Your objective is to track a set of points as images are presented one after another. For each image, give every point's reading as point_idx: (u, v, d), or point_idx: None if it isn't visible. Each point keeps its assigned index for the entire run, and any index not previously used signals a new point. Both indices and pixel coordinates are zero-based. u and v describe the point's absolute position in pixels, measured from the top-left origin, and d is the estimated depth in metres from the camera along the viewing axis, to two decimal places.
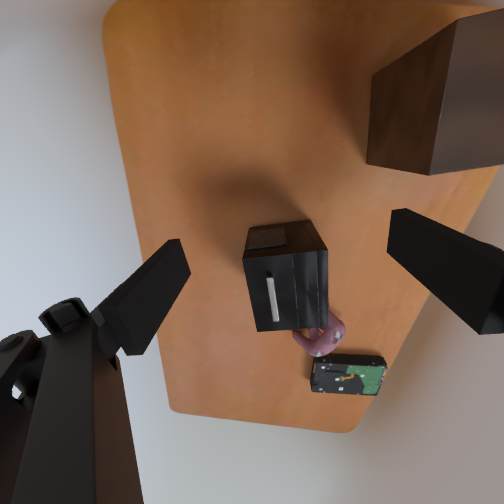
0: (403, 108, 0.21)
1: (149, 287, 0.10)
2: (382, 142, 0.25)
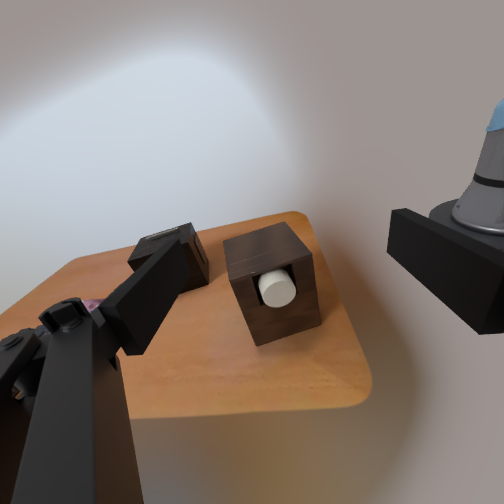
0: None
1: (149, 287, 0.10)
2: None
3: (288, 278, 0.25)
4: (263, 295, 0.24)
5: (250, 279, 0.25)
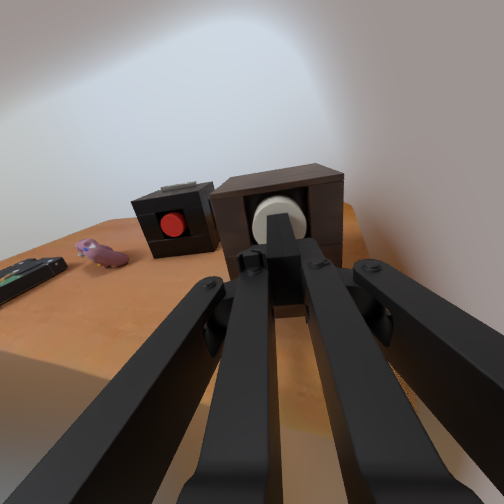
0: None
1: None
2: None
3: (297, 206, 0.16)
4: (253, 223, 0.16)
5: (240, 200, 0.16)
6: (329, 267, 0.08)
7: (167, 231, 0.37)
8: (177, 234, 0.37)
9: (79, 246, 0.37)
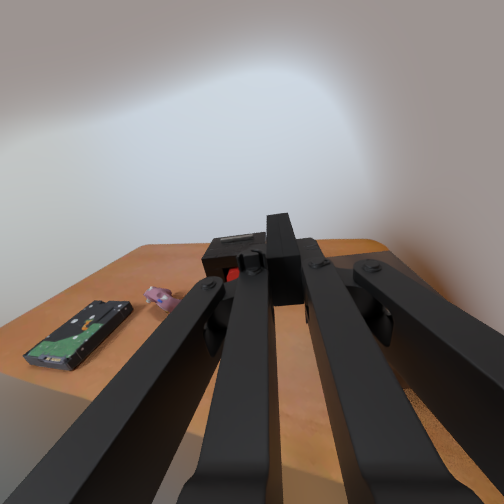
0: None
1: None
2: None
3: None
4: None
5: None
6: (329, 267, 0.08)
7: None
8: None
9: (152, 297, 0.41)
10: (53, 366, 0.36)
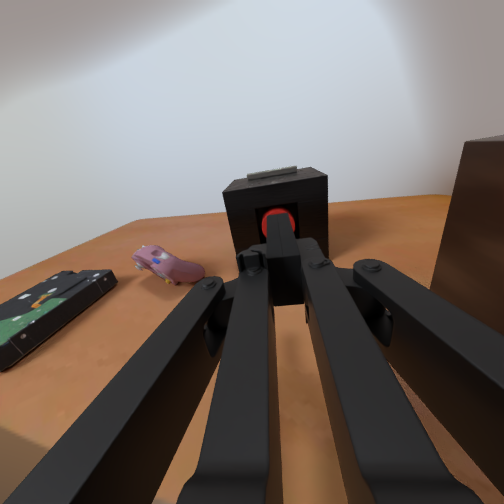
0: None
1: None
2: None
3: None
4: None
5: None
6: (329, 267, 0.08)
7: None
8: None
9: (145, 256, 0.26)
10: None
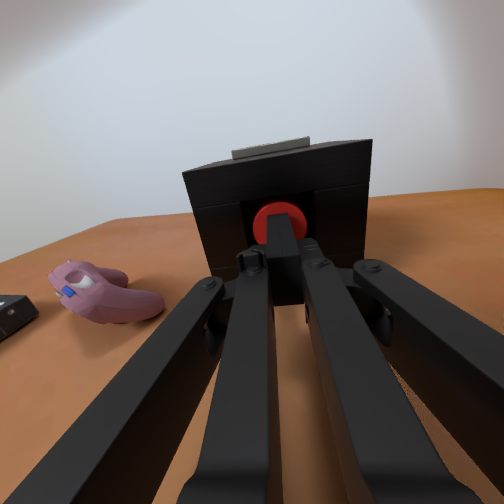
0: None
1: None
2: None
3: None
4: None
5: None
6: (329, 267, 0.08)
7: None
8: None
9: (54, 282, 0.16)
10: None
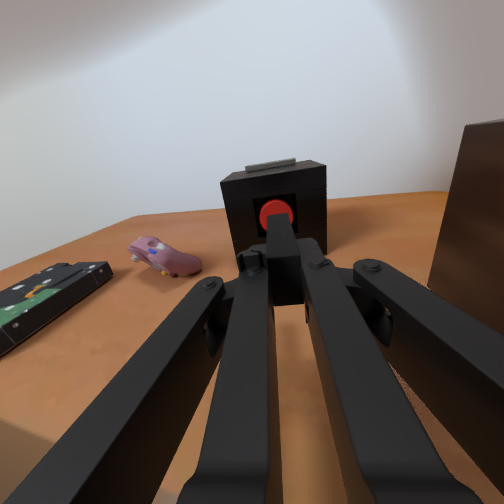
0: None
1: None
2: None
3: None
4: None
5: None
6: (329, 267, 0.08)
7: None
8: None
9: (141, 247, 0.26)
10: None
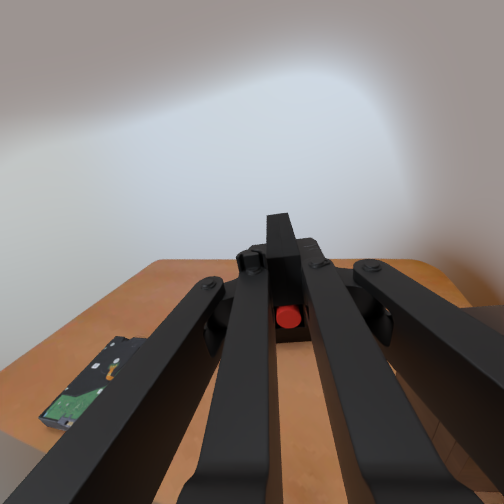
0: None
1: None
2: None
3: None
4: None
5: None
6: (329, 267, 0.08)
7: (282, 323, 0.35)
8: (292, 326, 0.35)
9: None
10: None
